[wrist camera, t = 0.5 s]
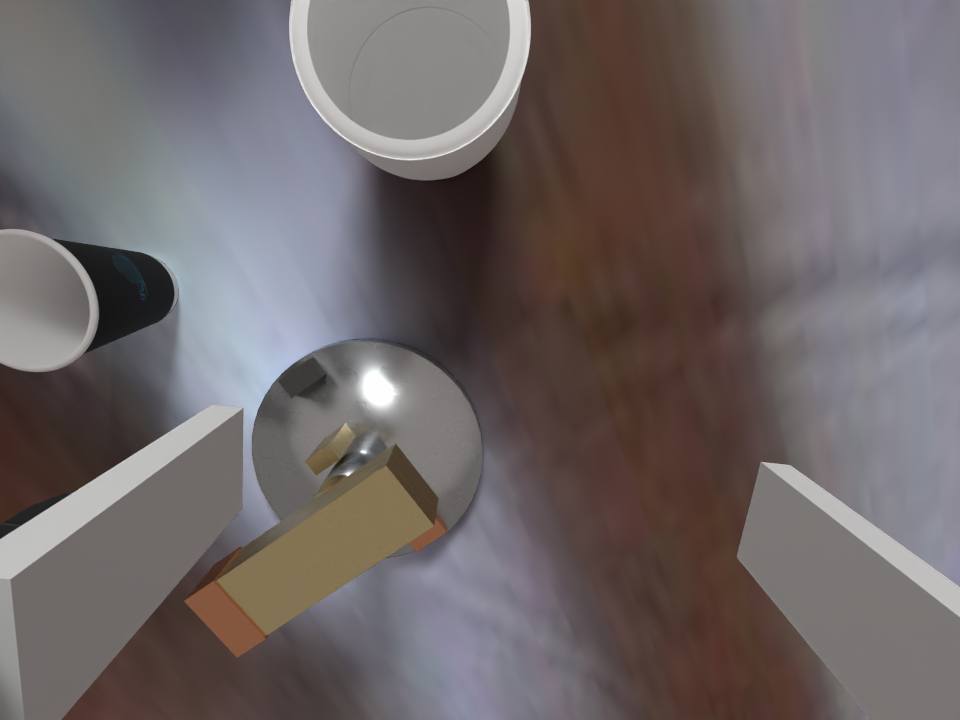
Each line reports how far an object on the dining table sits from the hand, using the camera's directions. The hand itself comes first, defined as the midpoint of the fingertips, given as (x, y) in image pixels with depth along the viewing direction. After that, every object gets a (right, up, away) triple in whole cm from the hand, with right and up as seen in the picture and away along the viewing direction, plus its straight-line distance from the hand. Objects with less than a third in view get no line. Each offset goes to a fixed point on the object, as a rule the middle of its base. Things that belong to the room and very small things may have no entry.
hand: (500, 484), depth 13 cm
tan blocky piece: (-9, -5, +26) cm, 28 cm away
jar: (-4, +20, +24) cm, 32 cm away
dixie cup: (-26, +9, +26) cm, 38 cm away
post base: (-9, -4, +29) cm, 31 cm away
